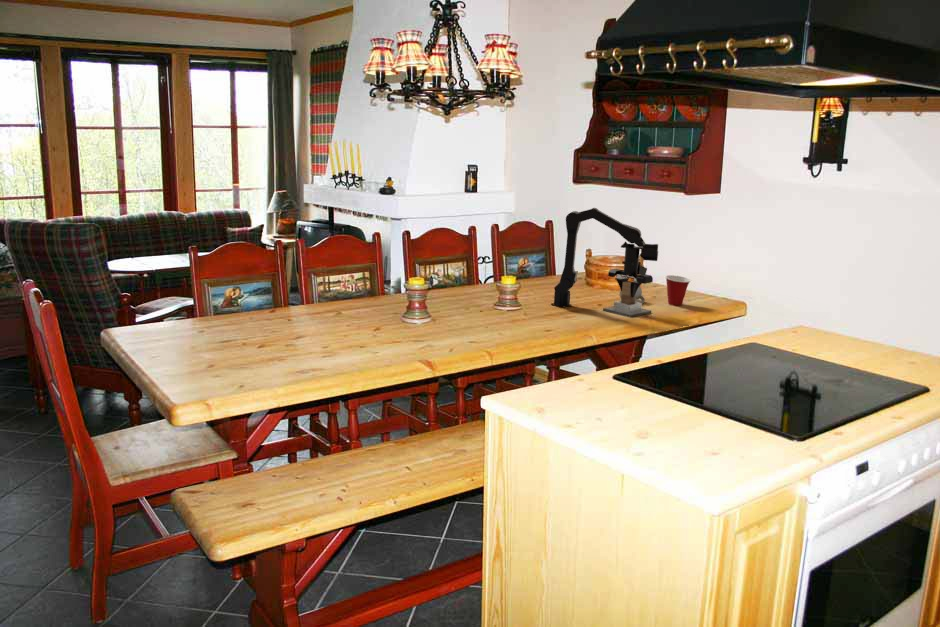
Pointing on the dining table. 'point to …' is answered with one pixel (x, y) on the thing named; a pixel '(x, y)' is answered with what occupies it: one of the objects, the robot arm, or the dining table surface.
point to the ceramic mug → (637, 295)
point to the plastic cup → (676, 289)
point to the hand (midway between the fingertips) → (628, 296)
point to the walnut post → (627, 293)
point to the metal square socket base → (627, 309)
